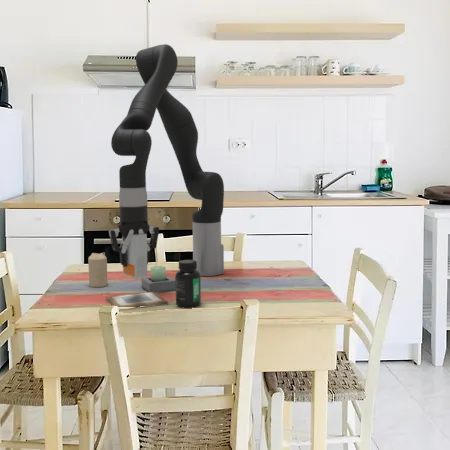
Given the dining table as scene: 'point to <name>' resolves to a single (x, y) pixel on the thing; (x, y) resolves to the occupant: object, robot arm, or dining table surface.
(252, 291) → the dining table surface
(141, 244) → the skincare box
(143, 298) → the board
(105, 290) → the dining table surface
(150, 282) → the button housing
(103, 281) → the candle
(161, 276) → the button
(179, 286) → the supplement bottle
